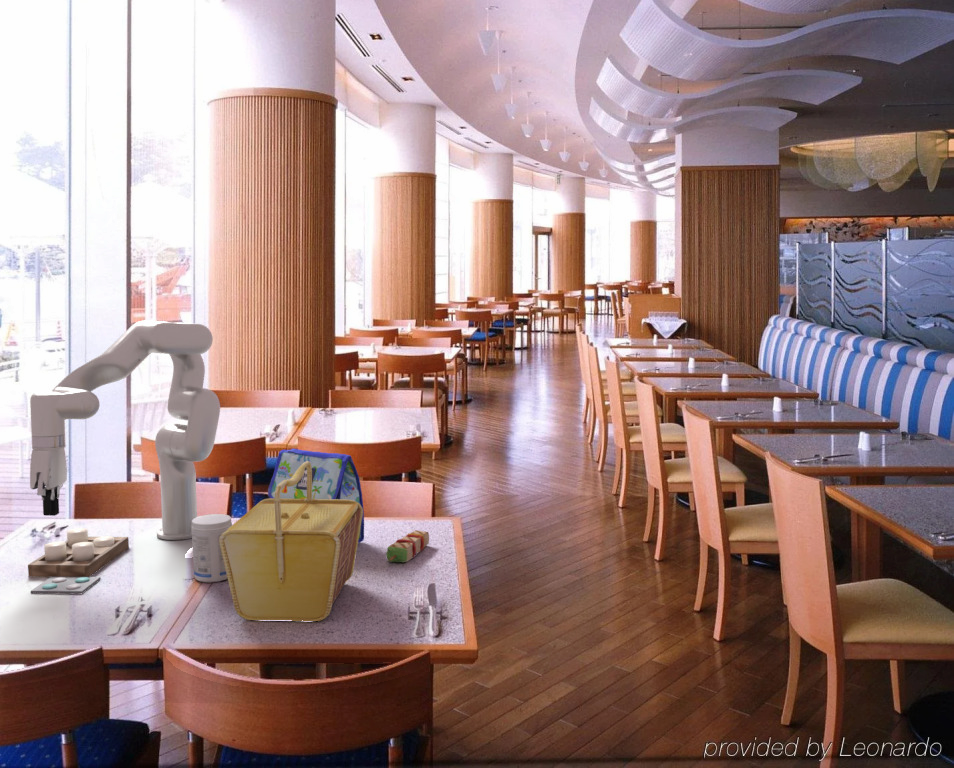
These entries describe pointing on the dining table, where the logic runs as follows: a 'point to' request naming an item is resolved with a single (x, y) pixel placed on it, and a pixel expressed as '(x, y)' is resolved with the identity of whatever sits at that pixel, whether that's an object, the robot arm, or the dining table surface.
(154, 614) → the dining table surface
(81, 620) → the dining table surface
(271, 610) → the picnic basket
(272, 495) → the lunch bag
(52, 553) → the button
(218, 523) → the supplement tub
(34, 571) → the button box
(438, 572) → the dining table surface
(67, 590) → the tile
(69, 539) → the button
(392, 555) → the skewer
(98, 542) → the button
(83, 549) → the button
